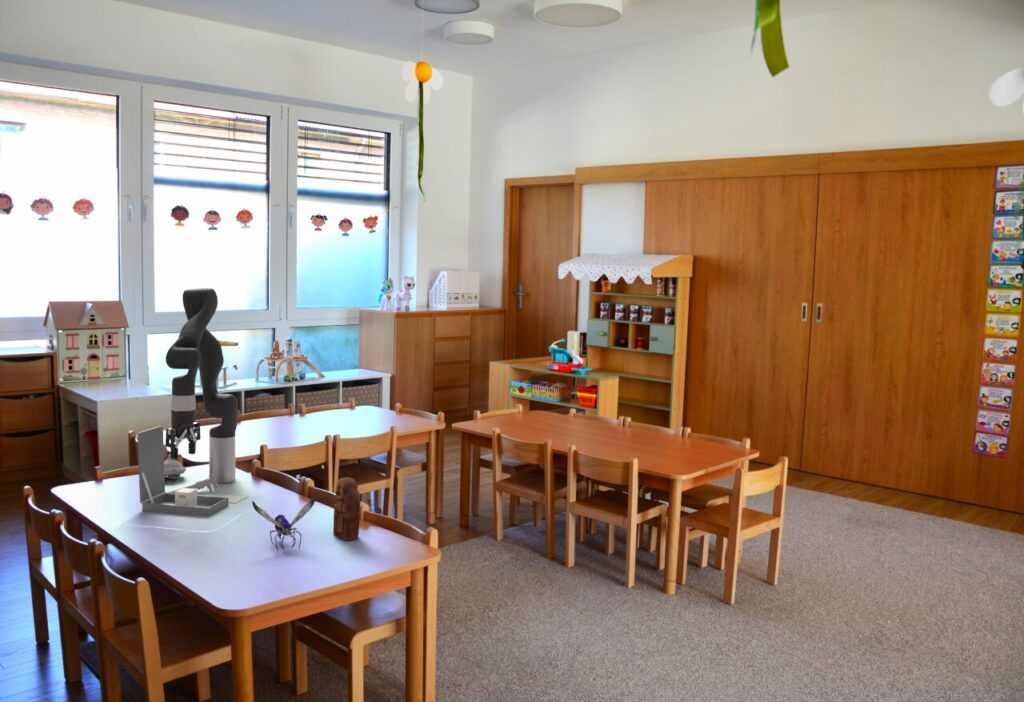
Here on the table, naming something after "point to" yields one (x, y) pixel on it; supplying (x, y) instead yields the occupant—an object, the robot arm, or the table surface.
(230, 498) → the mat
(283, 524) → the mechanical insect
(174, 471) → the grey clay mound
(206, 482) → the caliper
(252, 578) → the table surface
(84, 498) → the table surface
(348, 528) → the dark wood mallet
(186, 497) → the block
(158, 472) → the equipment case
